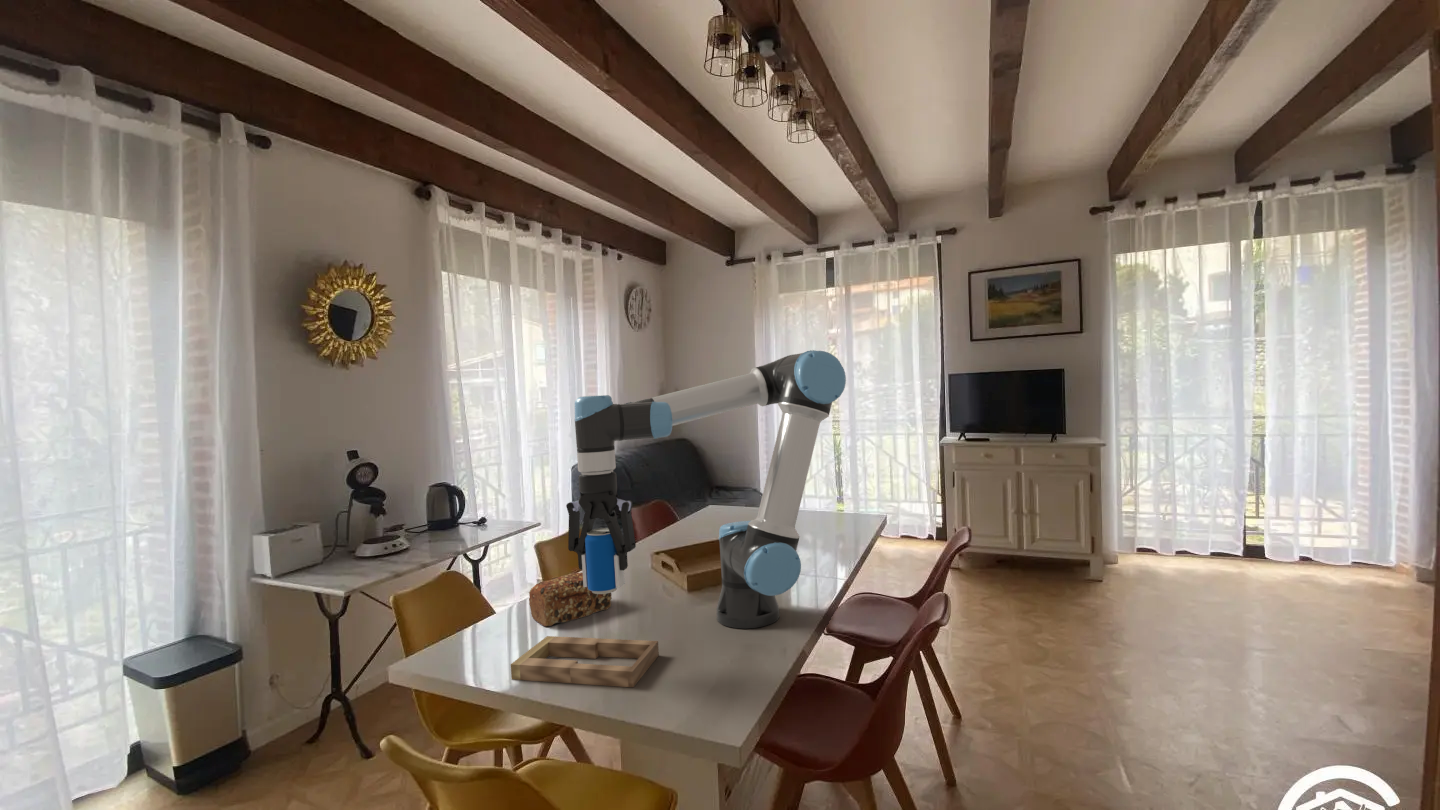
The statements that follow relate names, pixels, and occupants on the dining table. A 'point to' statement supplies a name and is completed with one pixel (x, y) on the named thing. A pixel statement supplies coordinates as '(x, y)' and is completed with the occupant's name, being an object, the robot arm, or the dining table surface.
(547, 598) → the bread
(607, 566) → the beverage can
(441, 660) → the dining table surface
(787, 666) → the dining table surface
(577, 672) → the wooden rectangular frame
